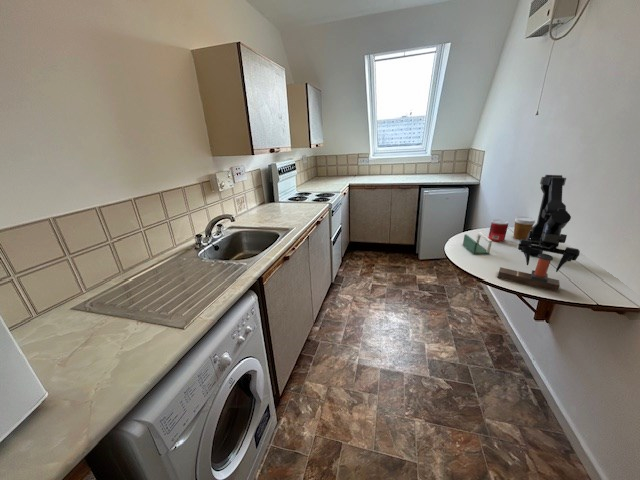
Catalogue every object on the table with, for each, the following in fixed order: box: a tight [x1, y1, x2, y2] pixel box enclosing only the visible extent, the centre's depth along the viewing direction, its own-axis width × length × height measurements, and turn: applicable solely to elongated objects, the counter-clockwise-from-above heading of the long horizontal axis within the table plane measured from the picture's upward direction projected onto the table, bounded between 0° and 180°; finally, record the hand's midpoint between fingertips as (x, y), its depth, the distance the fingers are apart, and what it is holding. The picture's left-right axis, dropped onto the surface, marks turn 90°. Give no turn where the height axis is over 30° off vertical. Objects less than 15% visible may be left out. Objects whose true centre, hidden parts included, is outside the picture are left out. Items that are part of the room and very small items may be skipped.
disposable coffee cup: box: [513, 216, 536, 241], centre depth 151 cm, size 10×10×12 cm
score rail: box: [497, 267, 561, 293], centre depth 111 cm, size 20×5×3 cm, turn 53°
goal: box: [462, 231, 493, 255], centre depth 141 cm, size 8×12×8 cm, turn 178°
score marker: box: [530, 253, 554, 283], centre depth 106 cm, size 5×6×10 cm
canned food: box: [487, 219, 509, 243], centre depth 151 cm, size 8×8×11 cm
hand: (541, 268), depth 106 cm, fingers open, 9 cm apart
